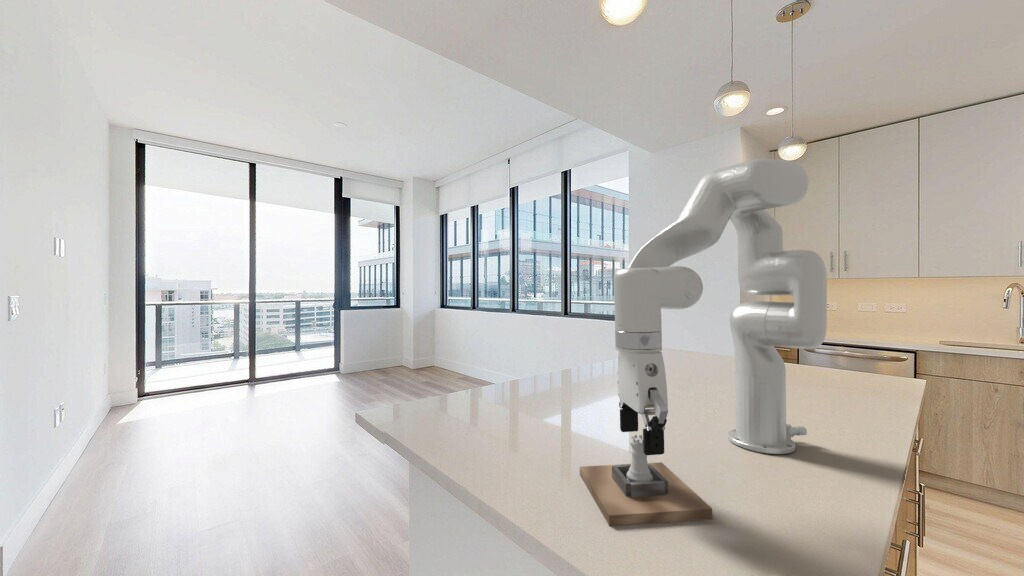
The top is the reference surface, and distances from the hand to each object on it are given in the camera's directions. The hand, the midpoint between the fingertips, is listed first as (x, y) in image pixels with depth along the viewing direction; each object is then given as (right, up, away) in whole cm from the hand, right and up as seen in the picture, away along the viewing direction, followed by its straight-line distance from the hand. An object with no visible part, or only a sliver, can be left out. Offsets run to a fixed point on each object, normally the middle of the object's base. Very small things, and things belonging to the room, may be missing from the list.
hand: (640, 441), depth 66 cm
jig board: (0, -9, 0) cm, 9 cm away
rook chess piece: (0, -7, 0) cm, 7 cm away
